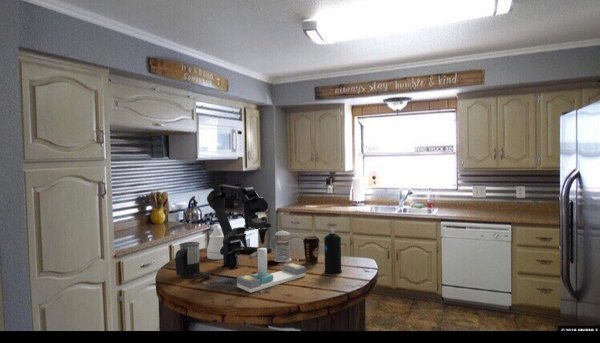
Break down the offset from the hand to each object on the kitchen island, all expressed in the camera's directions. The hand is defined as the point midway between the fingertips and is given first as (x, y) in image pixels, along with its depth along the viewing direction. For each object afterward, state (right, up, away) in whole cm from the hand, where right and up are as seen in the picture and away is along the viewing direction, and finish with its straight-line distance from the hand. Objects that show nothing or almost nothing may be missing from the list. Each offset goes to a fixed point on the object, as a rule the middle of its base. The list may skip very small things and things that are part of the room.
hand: (254, 246), depth 172 cm
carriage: (+6, -11, -17) cm, 21 cm away
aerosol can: (+37, -12, -2) cm, 39 cm away
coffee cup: (+28, -12, +14) cm, 33 cm away
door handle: (-6, -12, +33) cm, 36 cm away
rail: (+10, -12, -14) cm, 21 cm away
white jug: (-23, -12, +30) cm, 40 cm away
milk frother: (-26, -13, -6) cm, 30 cm away
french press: (+11, -12, +21) cm, 27 cm away
